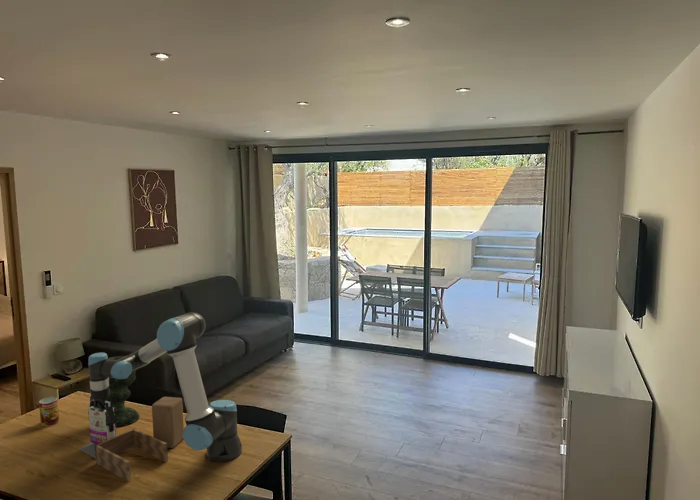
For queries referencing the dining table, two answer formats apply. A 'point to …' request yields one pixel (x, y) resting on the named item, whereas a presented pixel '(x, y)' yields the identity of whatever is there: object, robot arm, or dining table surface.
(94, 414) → the candy bar box
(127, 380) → the goblet
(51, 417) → the canned food
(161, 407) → the wooden block
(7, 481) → the dining table surface
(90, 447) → the slate mat
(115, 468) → the brown u-shaped piece
